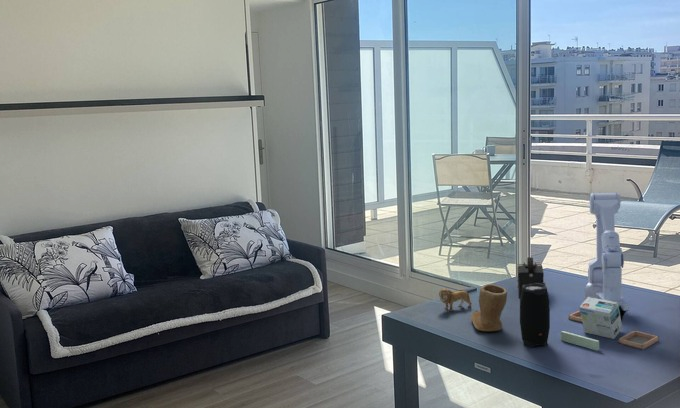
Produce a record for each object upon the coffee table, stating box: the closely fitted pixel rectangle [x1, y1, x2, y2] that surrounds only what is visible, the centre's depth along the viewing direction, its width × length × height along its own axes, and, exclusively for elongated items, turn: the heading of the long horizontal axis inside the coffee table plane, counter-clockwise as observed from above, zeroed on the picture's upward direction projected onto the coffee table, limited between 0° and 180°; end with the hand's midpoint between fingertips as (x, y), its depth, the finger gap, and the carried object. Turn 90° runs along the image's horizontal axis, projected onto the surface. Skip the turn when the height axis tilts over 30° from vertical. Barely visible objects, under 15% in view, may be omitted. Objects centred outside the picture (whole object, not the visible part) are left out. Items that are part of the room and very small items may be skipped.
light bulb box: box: [579, 297, 623, 340], centre depth 227 cm, size 11×7×11 cm, turn 44°
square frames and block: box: [560, 310, 659, 351], centre depth 229 cm, size 32×29×3 cm
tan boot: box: [470, 283, 508, 332], centre depth 241 cm, size 15×12×15 cm
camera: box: [516, 256, 547, 299], centre depth 274 cm, size 11×14×15 cm
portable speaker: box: [519, 283, 551, 348], centre depth 222 cm, size 9×9×20 cm
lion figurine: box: [438, 288, 472, 312], centre depth 262 cm, size 15×5×9 cm, turn 117°
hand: (611, 324), depth 232 cm, fingers open, 4 cm apart
